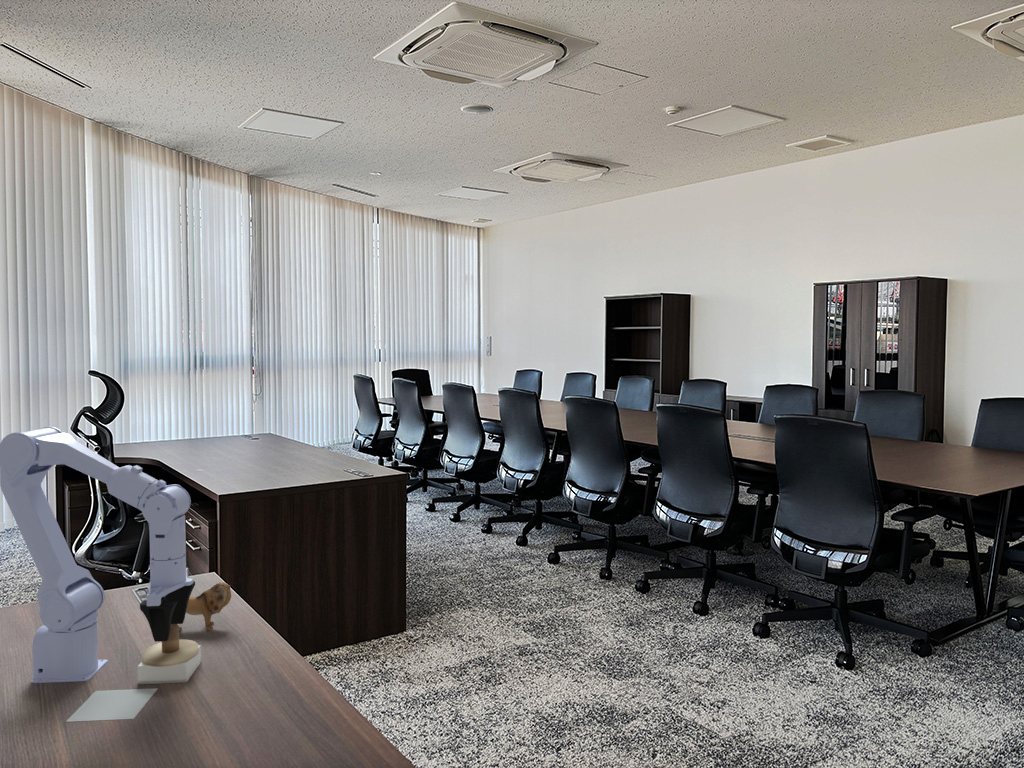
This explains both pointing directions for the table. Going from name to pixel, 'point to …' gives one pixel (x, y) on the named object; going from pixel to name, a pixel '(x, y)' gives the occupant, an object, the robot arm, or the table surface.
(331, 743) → the table surface
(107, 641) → the table surface
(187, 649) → the lid
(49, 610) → the robot arm
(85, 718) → the mat
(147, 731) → the table surface
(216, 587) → the lion figurine
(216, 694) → the table surface
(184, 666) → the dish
